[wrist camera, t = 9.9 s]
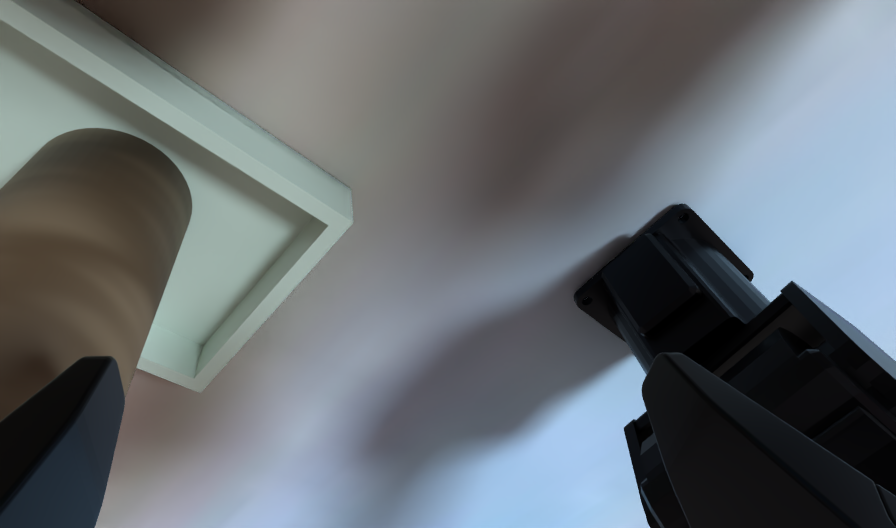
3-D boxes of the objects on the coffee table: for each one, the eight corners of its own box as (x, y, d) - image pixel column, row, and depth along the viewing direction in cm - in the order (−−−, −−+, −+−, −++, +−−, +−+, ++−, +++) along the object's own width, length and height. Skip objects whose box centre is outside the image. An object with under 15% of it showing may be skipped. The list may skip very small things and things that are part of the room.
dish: (351, 189, 22) (353, 222, 20) (210, 350, 25) (200, 393, 23) (-39, -77, 15) (-95, -68, 13) (-159, 187, 19) (-218, 226, 17)
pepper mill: (220, 186, 20) (72, 664, 8) (147, 279, 22) (-71, 798, 10) (73, 96, 18) (-462, 590, 6) (2, 208, 19) (-540, 788, 7)
